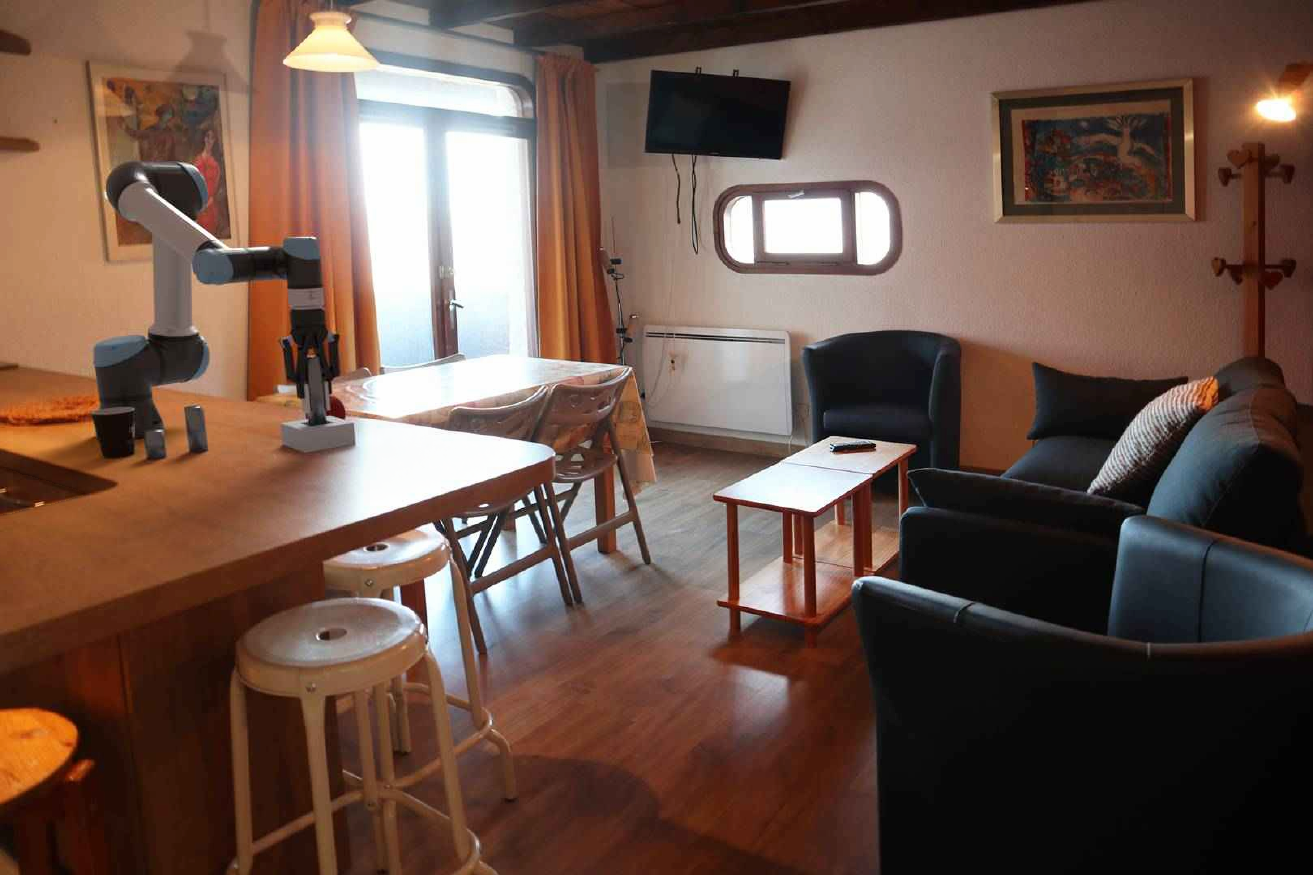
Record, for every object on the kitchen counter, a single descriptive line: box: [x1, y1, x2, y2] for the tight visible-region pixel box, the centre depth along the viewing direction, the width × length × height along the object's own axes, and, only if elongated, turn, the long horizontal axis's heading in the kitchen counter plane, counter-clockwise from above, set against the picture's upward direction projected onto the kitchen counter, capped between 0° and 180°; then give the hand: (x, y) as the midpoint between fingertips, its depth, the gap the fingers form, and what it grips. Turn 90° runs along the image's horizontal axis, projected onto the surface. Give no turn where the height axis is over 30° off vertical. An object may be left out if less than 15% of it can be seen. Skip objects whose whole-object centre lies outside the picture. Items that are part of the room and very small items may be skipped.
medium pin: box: [183, 404, 209, 454], centre depth 240 cm, size 4×4×10 cm
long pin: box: [304, 354, 327, 426], centre depth 243 cm, size 4×4×16 cm
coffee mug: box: [90, 407, 136, 459], centre depth 239 cm, size 12×9×10 cm
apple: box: [304, 395, 347, 420], centre depth 259 cm, size 9×9×10 cm
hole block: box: [280, 416, 357, 454], centre depth 245 cm, size 12×12×5 cm
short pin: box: [143, 429, 168, 461], centre depth 235 cm, size 4×4×6 cm
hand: (316, 410), depth 244 cm, fingers closed on long pin, 4 cm apart
